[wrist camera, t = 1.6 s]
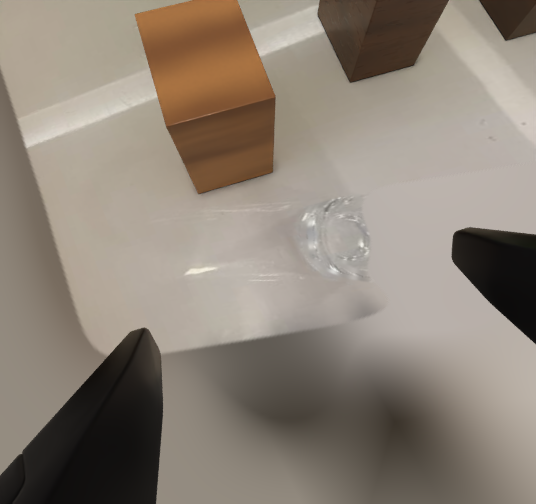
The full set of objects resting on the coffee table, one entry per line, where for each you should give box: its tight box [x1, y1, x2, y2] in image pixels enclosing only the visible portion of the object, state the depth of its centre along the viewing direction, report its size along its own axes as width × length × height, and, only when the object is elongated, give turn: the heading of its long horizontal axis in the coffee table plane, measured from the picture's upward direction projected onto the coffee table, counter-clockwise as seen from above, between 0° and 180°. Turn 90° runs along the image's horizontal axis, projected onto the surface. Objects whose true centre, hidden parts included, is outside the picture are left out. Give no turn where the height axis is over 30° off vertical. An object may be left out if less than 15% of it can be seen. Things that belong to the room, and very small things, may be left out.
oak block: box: [135, 0, 276, 194], centre depth 21 cm, size 8×6×8 cm
